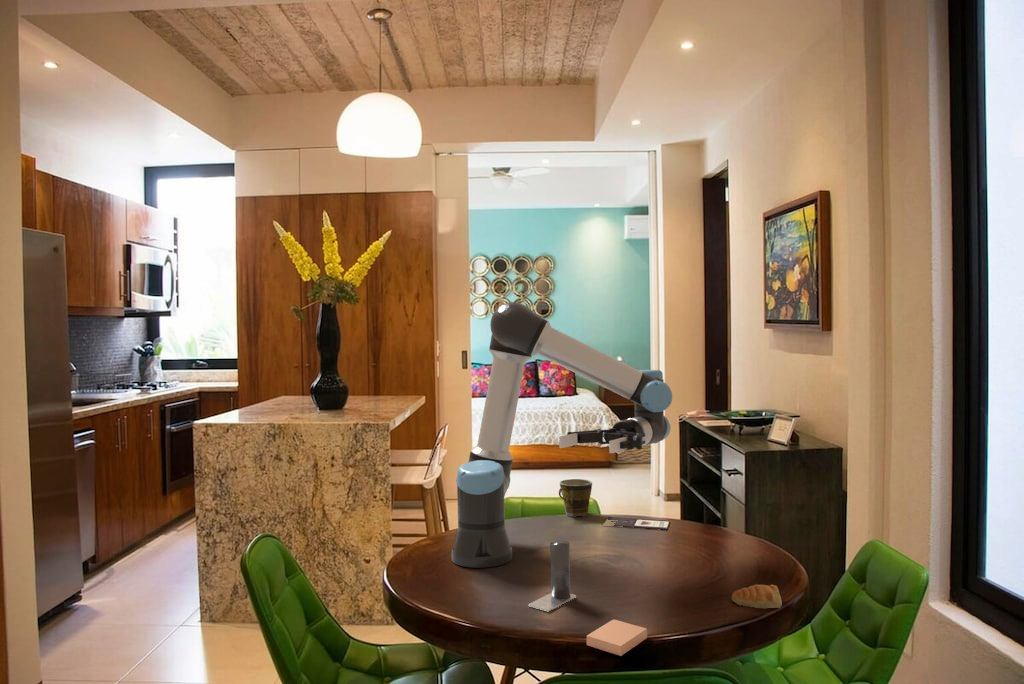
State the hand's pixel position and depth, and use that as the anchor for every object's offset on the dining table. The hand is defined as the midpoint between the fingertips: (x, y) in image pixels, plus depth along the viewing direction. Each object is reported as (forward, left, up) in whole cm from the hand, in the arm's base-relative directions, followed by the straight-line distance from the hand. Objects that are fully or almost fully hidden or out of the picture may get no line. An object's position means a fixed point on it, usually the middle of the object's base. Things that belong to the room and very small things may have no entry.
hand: (584, 444), depth 160 cm
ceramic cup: (-33, +43, -30) cm, 62 cm away
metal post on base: (+3, -18, -30) cm, 35 cm away
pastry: (+37, +6, -30) cm, 48 cm away
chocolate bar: (-12, +45, -31) cm, 56 cm away
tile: (+23, -22, -29) cm, 43 cm away
